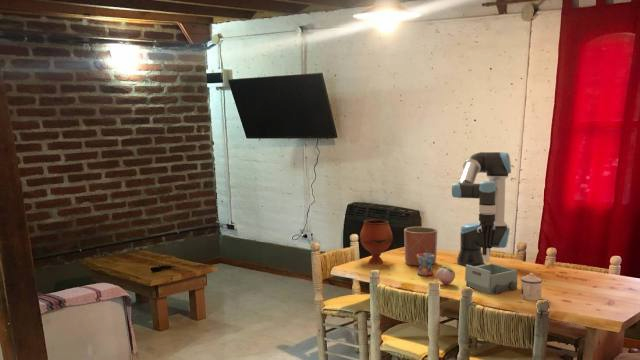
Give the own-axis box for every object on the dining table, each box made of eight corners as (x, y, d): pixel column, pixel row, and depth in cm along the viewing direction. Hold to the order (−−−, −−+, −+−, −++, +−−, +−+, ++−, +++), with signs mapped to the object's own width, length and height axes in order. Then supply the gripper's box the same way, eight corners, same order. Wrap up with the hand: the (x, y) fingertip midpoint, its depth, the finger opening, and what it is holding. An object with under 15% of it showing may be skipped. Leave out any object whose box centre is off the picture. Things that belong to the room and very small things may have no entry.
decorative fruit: (458, 284, 263) (458, 265, 262) (450, 288, 258) (450, 268, 257) (441, 280, 270) (442, 262, 269) (433, 284, 264) (433, 265, 263)
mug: (427, 277, 276) (427, 258, 275) (413, 274, 283) (413, 255, 282) (440, 273, 284) (440, 254, 283) (426, 270, 291) (426, 251, 290)
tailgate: (466, 280, 260) (467, 264, 260) (489, 287, 247) (490, 271, 247) (464, 280, 259) (465, 264, 259) (487, 288, 247) (488, 271, 246)
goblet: (394, 266, 299) (394, 223, 296) (361, 267, 299) (360, 224, 296) (390, 258, 318) (390, 218, 315) (359, 258, 318) (358, 218, 316)
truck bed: (489, 279, 271) (489, 262, 271) (519, 288, 255) (520, 270, 254) (463, 284, 262) (464, 267, 262) (493, 295, 246) (494, 276, 245)
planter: (430, 269, 293) (430, 234, 291) (398, 264, 303) (398, 230, 301) (441, 261, 309) (442, 228, 307) (411, 257, 319) (411, 225, 317)
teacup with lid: (522, 293, 248) (523, 269, 247) (543, 296, 243) (543, 272, 242) (517, 300, 238) (517, 275, 236) (538, 304, 233) (539, 278, 232)
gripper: (490, 211, 260) (489, 258, 262) (471, 213, 253) (470, 261, 255) (502, 213, 253) (501, 261, 255) (483, 215, 247) (482, 264, 249)
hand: (486, 261), depth 255 cm, fingers closed
